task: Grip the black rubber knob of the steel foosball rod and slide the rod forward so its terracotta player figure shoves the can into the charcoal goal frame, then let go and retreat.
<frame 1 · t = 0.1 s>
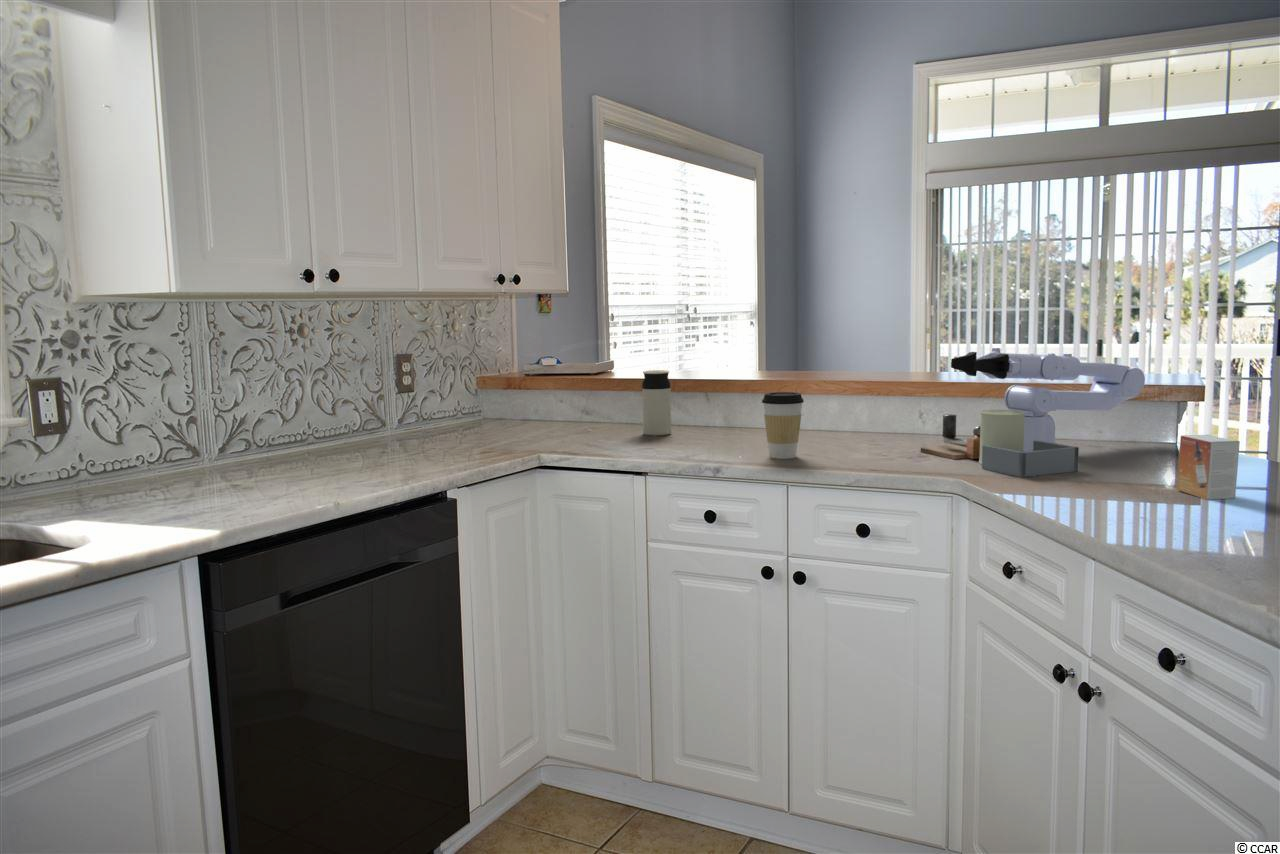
hand: (963, 364, 201), 22 cm above the countertop, tool horizontal, fingers open, 7 cm apart
can: (1001, 464, 197), on the countertop
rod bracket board: (954, 453, 211), on the countertop
small box: (1205, 495, 162), on the countertop
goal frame: (1028, 469, 189), on the countertop
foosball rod: (963, 435, 207), point 5 cm above the countertop, slide at 0.0 cm
travel mug: (657, 434, 255), on the countertop
coffee cup: (782, 457, 213), on the countertop
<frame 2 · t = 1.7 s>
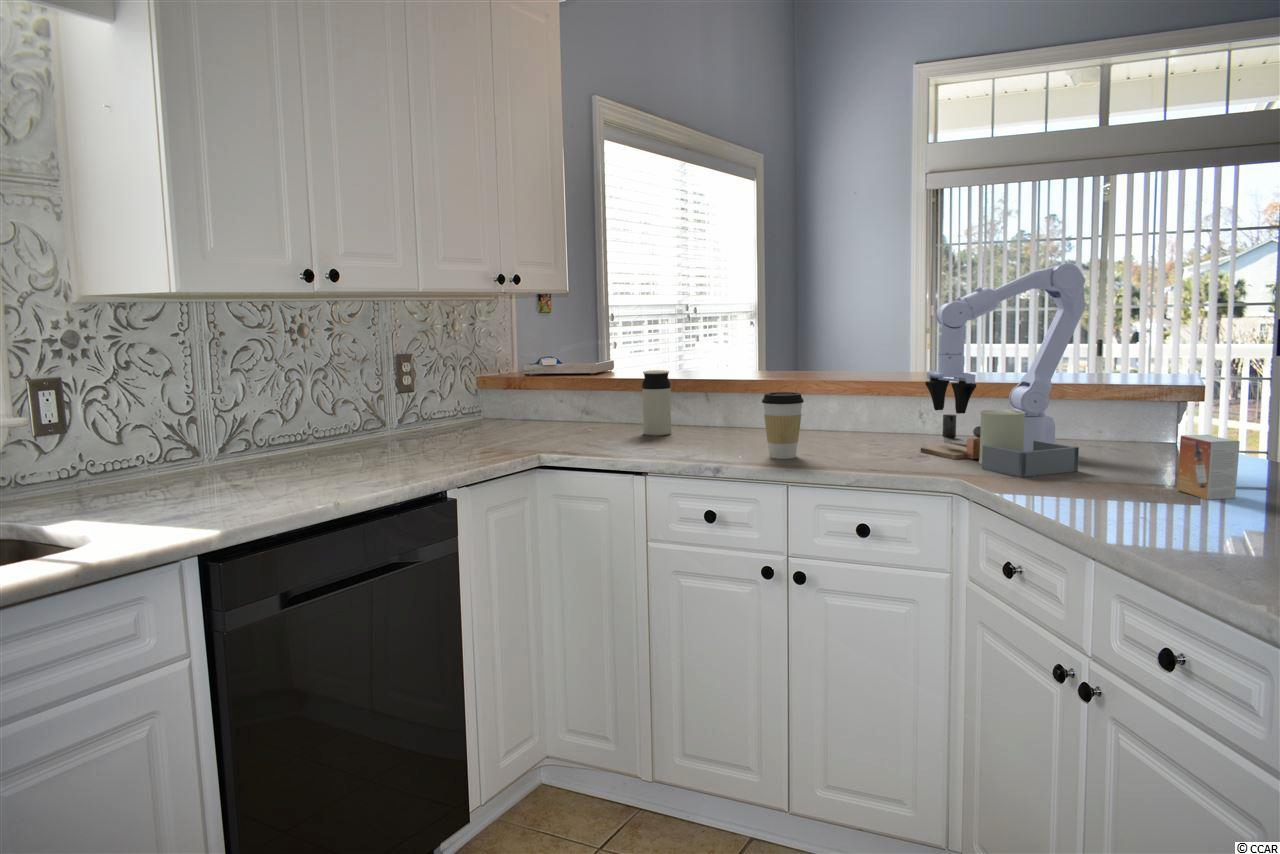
hand: (949, 411, 211), 10 cm above the countertop, tool pointing down, fingers open, 7 cm apart
nothing on the countertop moved.
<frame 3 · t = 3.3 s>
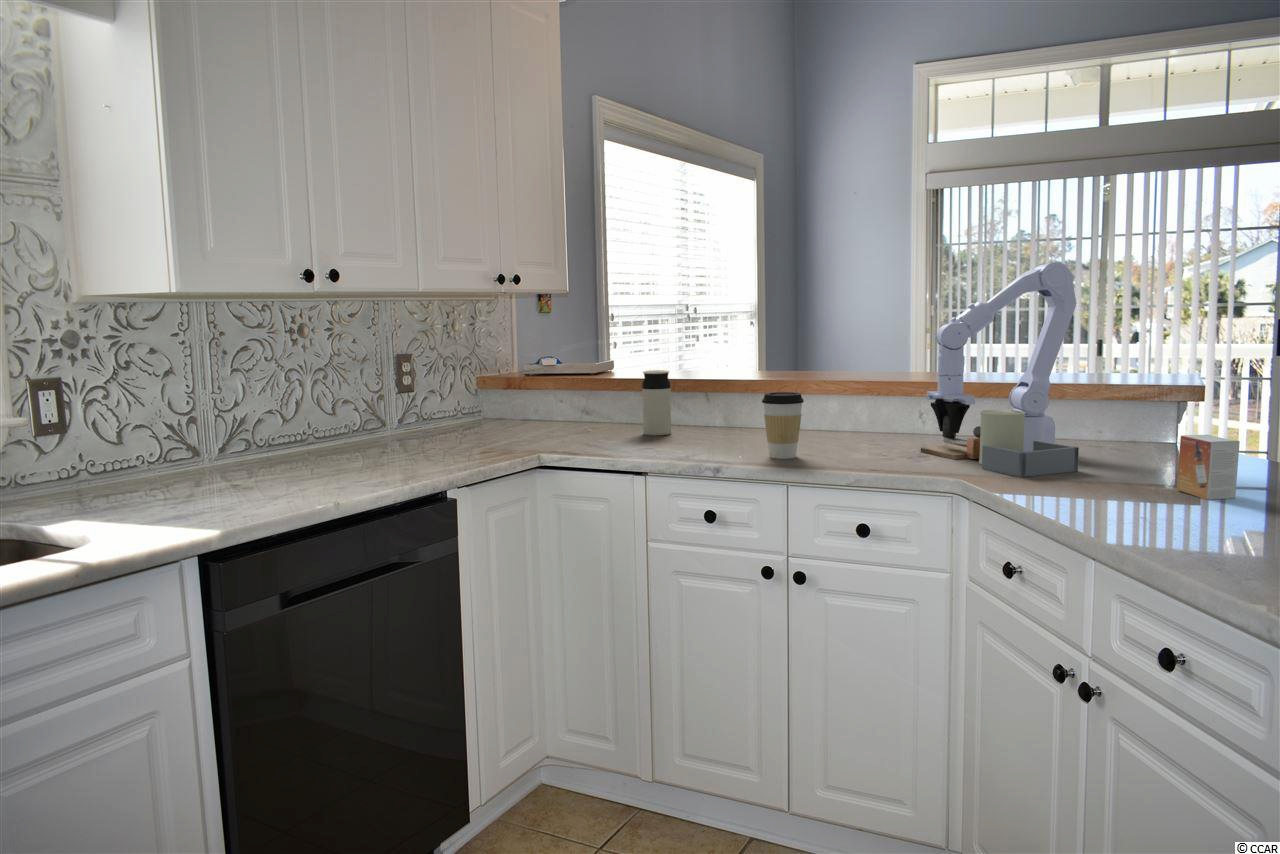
hand: (949, 432, 212), 5 cm above the countertop, tool pointing down, fingers closed on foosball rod, 3 cm apart
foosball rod: (963, 435, 207), point 5 cm above the countertop, slide at 0.0 cm, touching gripper
everything else where it was.
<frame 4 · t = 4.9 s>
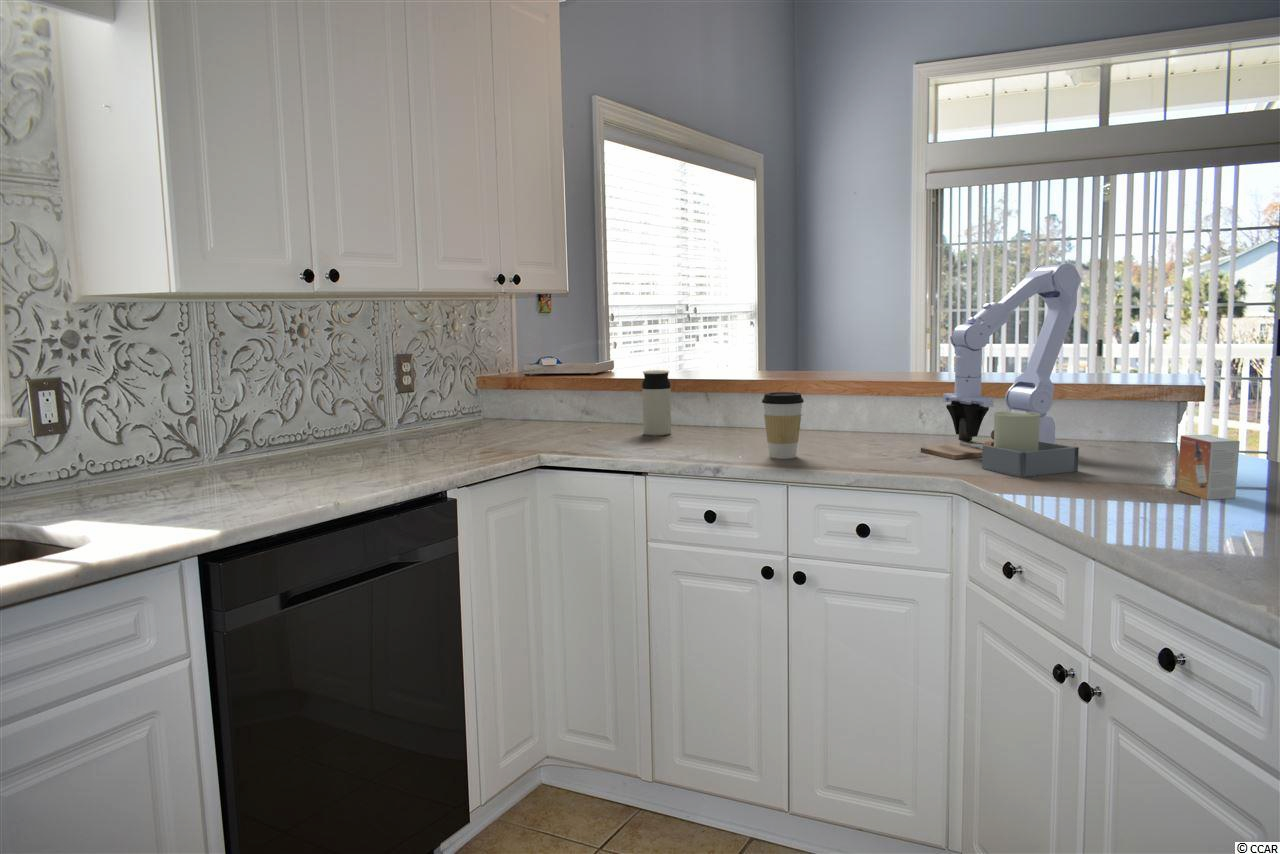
hand: (966, 435, 207), 5 cm above the countertop, tool pointing down, fingers open, 4 cm apart
can: (1015, 467, 193), on the countertop, touching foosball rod
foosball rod: (980, 438, 202), point 5 cm above the countertop, slide at 5.6 cm, touching can, gripper
everything else where it was.
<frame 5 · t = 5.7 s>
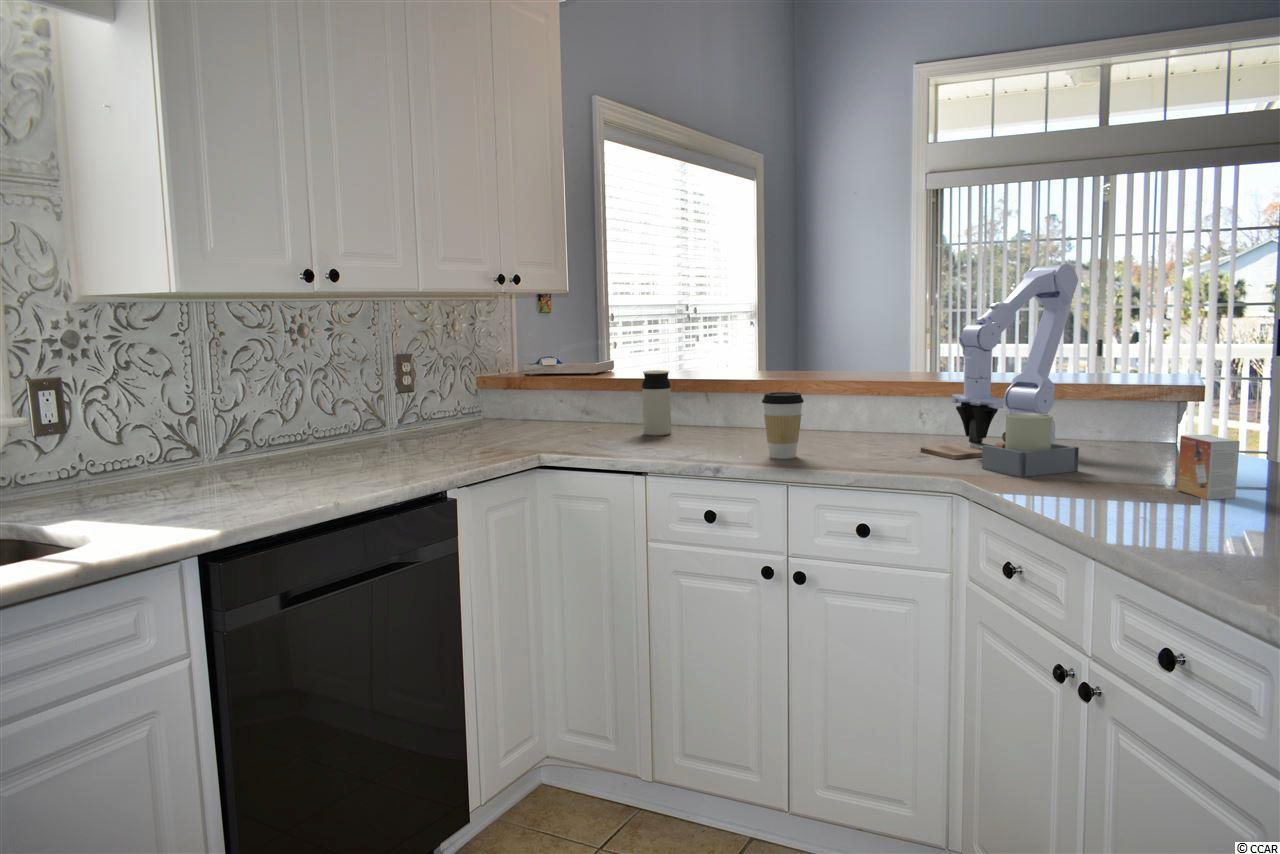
hand: (975, 437, 204), 5 cm above the countertop, tool pointing down, fingers closed on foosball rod, 3 cm apart
can: (1027, 470, 190), on the countertop, touching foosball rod
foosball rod: (991, 440, 199), point 5 cm above the countertop, slide at 8.9 cm, touching can, gripper
everything else where it was.
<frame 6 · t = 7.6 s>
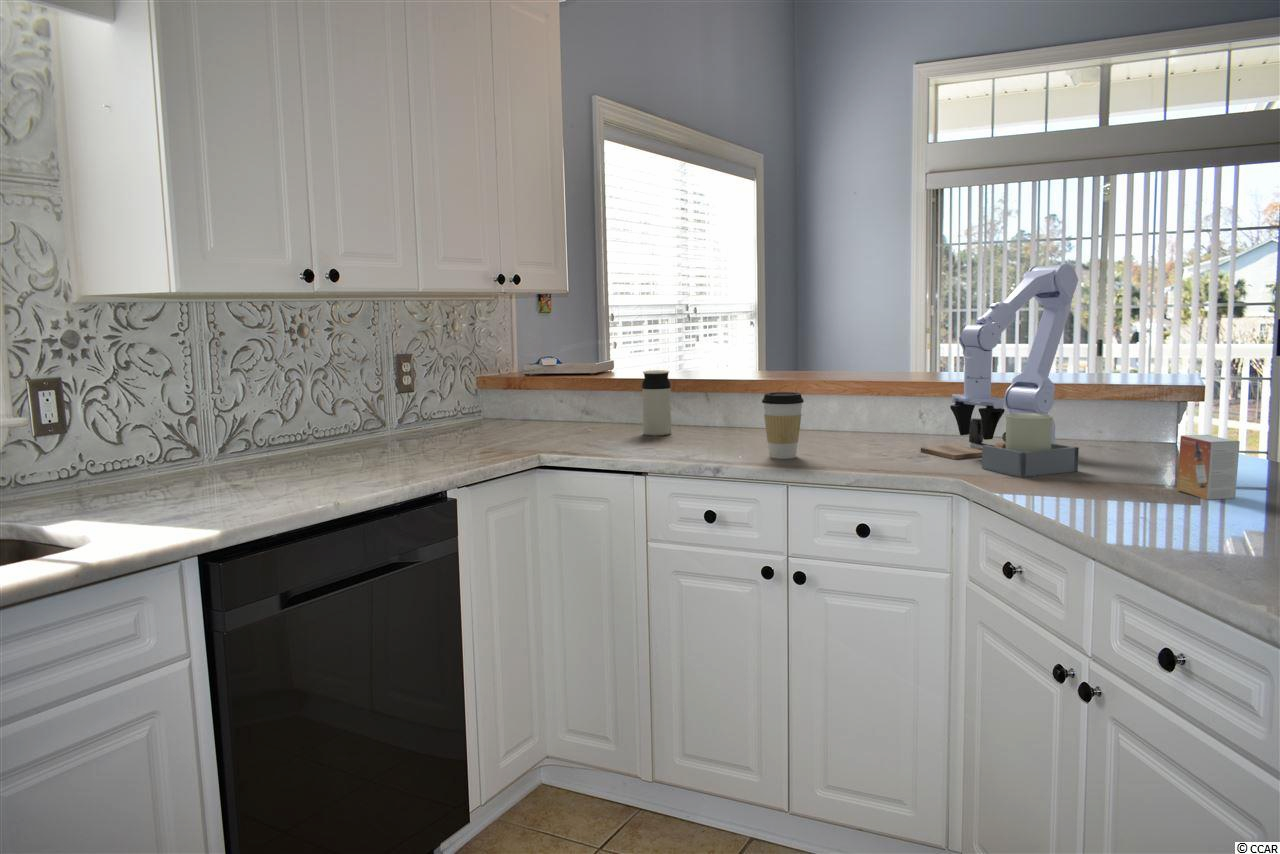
hand: (976, 437, 204), 5 cm above the countertop, tool pointing down, fingers open, 7 cm apart
can: (1027, 470, 190), on the countertop
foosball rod: (991, 440, 199), point 5 cm above the countertop, slide at 9.0 cm
everything else where it was.
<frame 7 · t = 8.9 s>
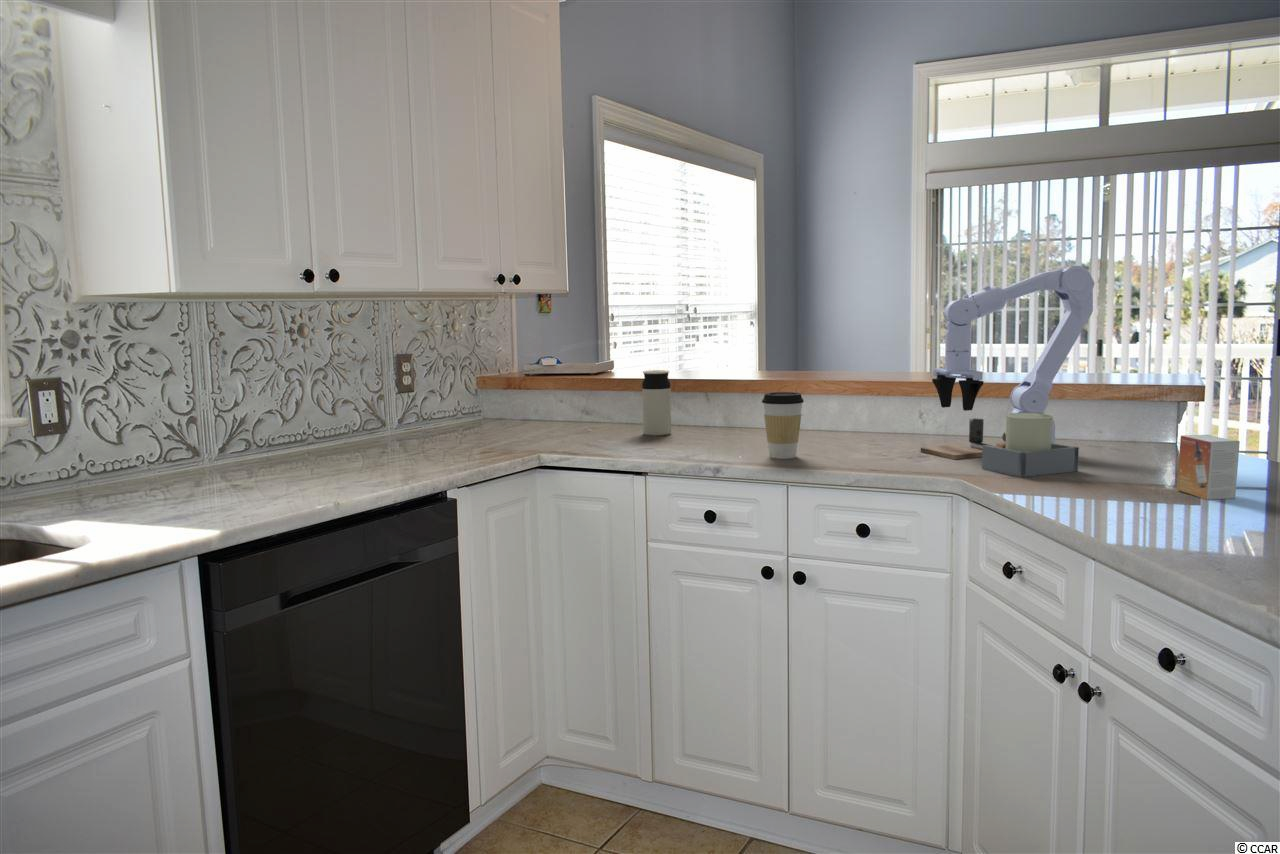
hand: (956, 408, 212), 10 cm above the countertop, tool pointing down, fingers open, 7 cm apart
nothing on the countertop moved.
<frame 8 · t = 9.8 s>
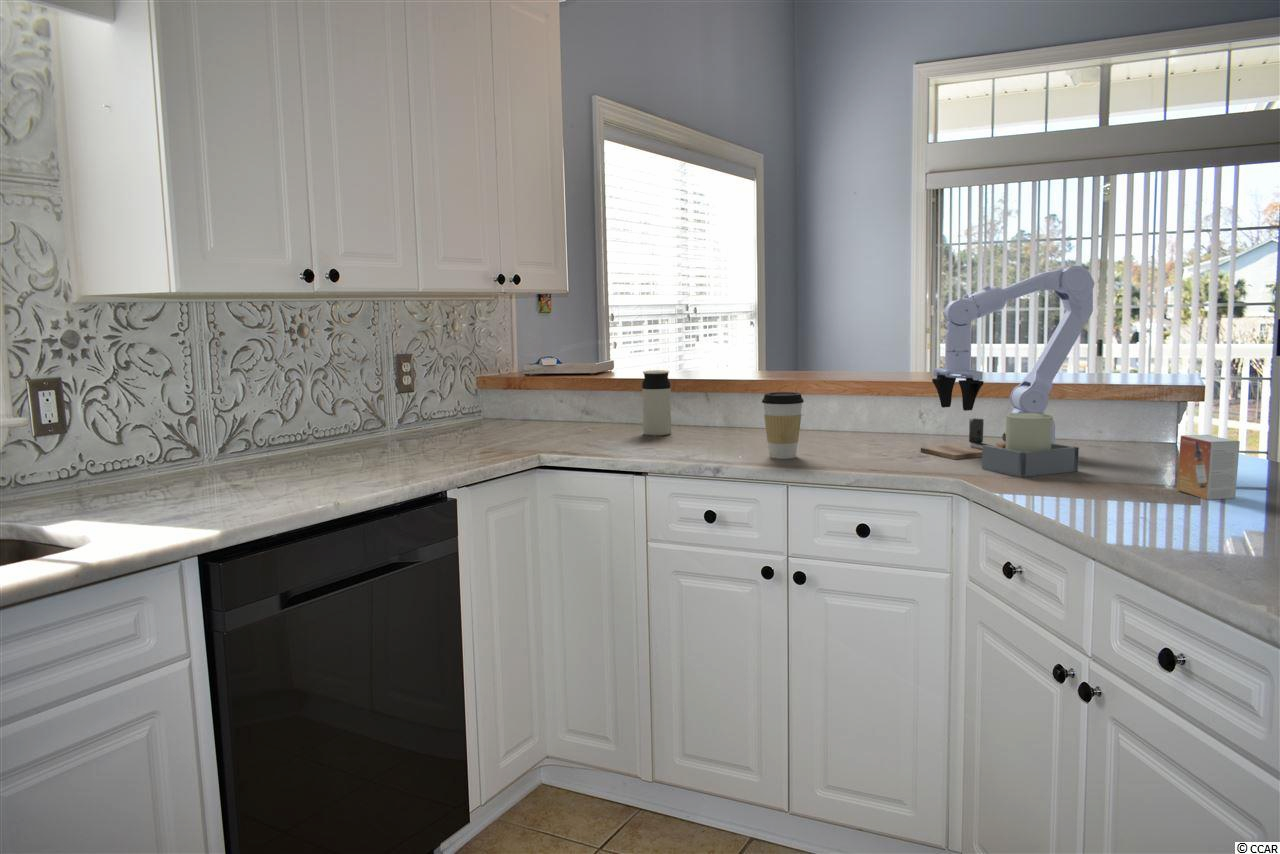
hand: (956, 408, 212), 10 cm above the countertop, tool pointing down, fingers open, 7 cm apart
nothing on the countertop moved.
at the end: can inside the target area (1.6 cm from its centre), on the countertop; can tilted 0°; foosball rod slide at 9.0 cm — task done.
